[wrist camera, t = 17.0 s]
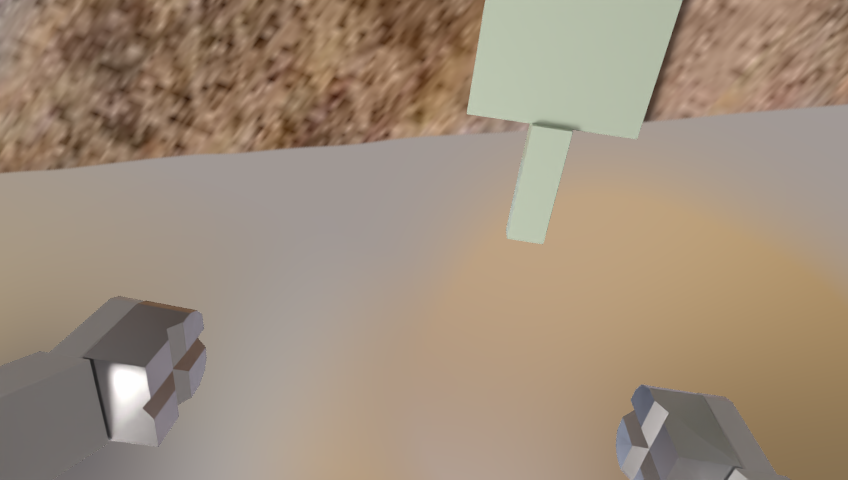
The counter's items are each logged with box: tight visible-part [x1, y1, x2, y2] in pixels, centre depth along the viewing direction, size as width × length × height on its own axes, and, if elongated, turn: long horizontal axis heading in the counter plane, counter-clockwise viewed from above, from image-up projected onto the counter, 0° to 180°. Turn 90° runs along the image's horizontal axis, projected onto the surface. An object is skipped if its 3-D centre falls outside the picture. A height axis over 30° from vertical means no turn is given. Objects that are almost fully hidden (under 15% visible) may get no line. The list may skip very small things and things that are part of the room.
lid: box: [467, 0, 682, 244], centre depth 43 cm, size 15×26×2 cm, turn 173°
